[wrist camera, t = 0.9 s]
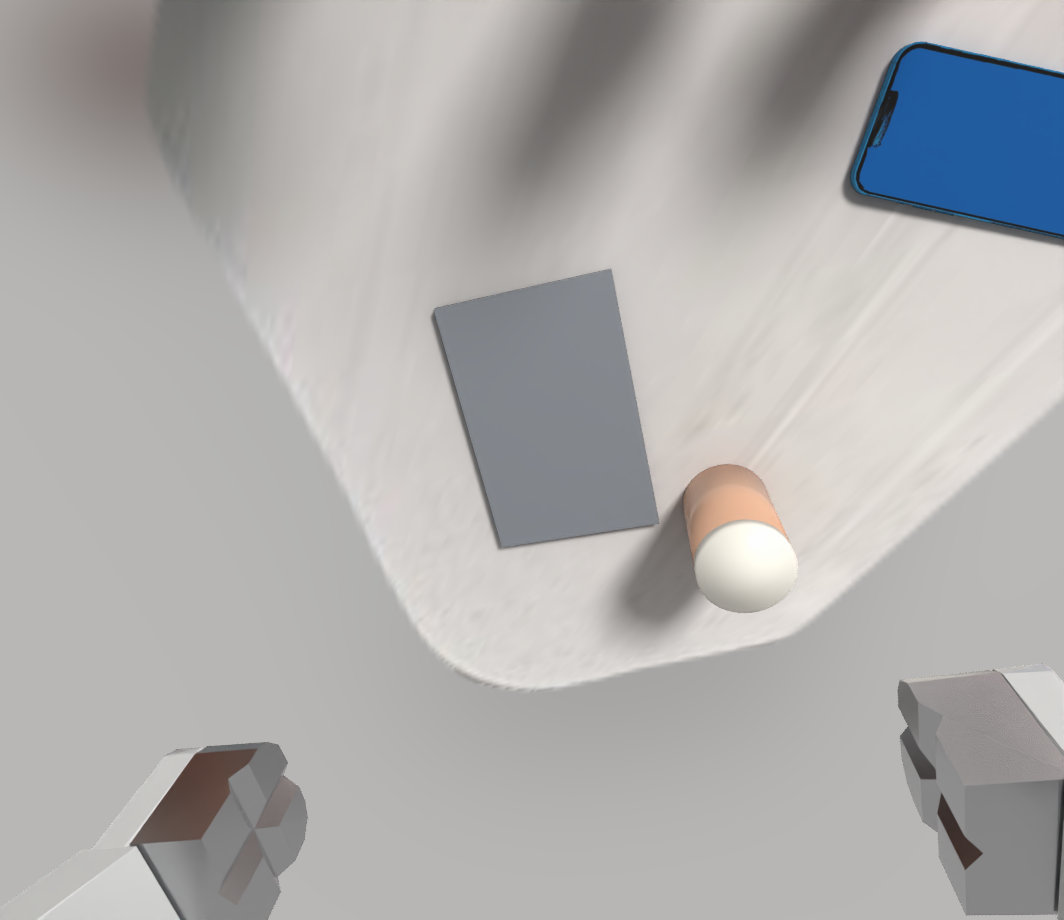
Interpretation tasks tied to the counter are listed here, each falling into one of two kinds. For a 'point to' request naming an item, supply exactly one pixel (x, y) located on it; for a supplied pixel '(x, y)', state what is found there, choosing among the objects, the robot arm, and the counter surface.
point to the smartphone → (968, 139)
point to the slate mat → (551, 409)
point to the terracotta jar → (737, 540)
